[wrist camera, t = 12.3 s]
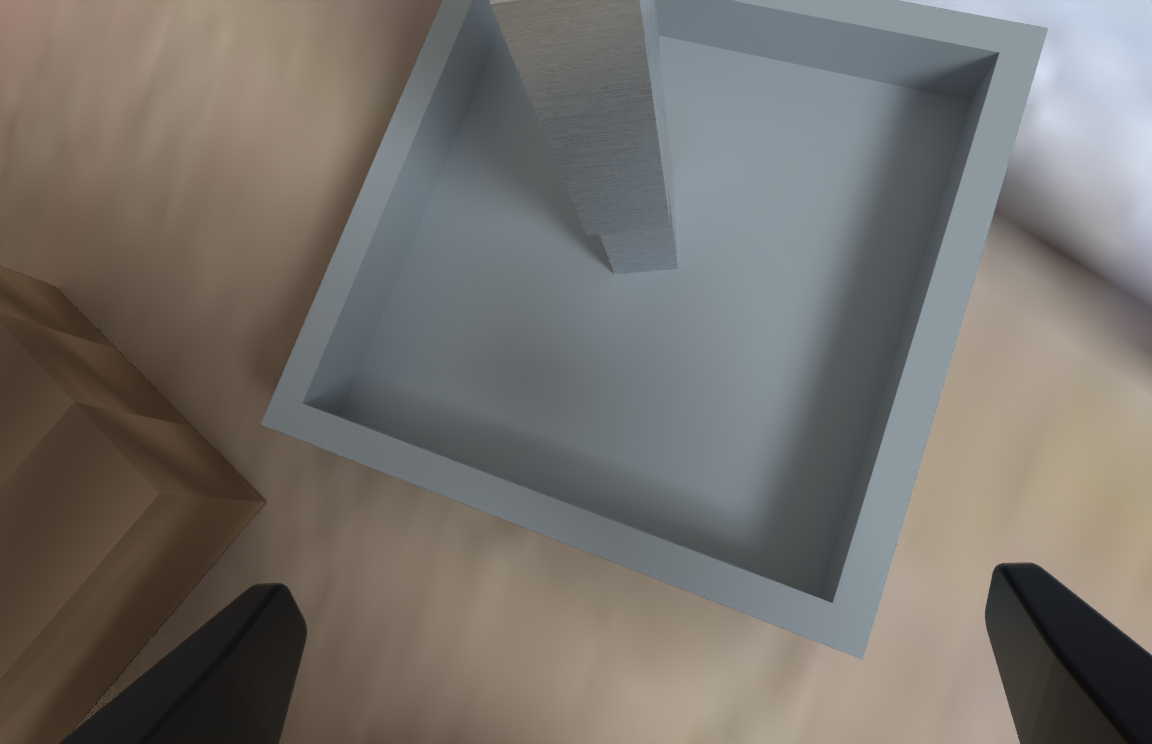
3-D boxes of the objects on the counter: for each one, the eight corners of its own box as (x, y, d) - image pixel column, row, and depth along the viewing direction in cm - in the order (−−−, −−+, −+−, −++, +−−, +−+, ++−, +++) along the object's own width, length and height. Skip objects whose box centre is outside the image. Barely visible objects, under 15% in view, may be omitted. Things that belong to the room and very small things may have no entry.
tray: (840, 641, 17) (862, 659, 14) (314, 438, 20) (260, 424, 18) (1004, 93, 19) (1048, 28, 16) (501, -11, 22) (475, -78, 20)
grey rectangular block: (679, 299, 18) (636, -17, 8) (616, 304, 19) (489, 4, 8) (670, 151, 19) (621, -314, 9) (610, 158, 20) (488, -286, 9)
